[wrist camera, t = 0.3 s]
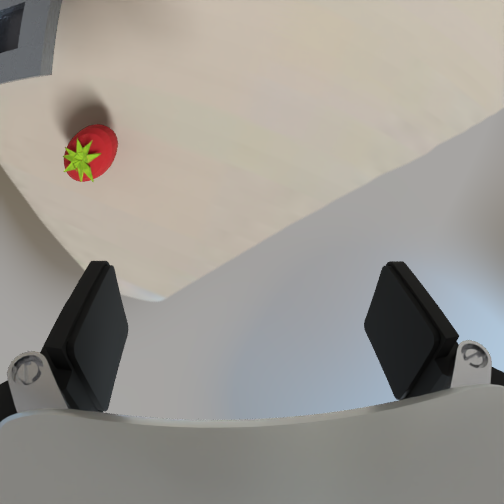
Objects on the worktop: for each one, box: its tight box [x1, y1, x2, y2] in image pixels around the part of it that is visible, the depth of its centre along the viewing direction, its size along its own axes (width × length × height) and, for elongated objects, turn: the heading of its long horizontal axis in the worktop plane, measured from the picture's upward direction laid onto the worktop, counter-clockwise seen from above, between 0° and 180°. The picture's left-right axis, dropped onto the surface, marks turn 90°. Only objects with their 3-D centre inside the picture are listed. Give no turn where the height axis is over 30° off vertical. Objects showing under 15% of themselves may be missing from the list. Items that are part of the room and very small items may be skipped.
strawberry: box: [63, 124, 118, 182], centre depth 31 cm, size 6×8×10 cm
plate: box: [0, 0, 62, 84], centre depth 23 cm, size 16×16×3 cm
